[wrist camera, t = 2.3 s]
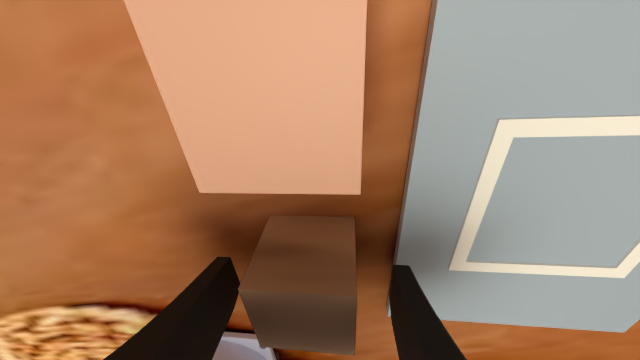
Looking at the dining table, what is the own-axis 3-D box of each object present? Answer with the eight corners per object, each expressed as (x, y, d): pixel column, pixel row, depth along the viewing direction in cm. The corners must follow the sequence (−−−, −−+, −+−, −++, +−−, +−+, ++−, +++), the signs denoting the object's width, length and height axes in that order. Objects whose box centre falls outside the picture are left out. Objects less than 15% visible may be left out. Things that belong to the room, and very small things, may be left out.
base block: (353, 271, 13) (354, 355, 10) (282, 268, 14) (260, 346, 10) (354, 215, 11) (357, 296, 8) (270, 213, 11) (237, 289, 8)
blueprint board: (614, 322, 13) (625, 334, 12) (386, 307, 14) (387, 318, 14) (1110, -134, 5) (1205, -154, 4) (441, -59, 6) (449, -67, 5)
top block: (356, 132, 9) (360, 194, 6) (253, 134, 9) (199, 193, 6) (358, -1, 7) (368, -33, 3) (226, 10, 7) (121, -7, 4)
